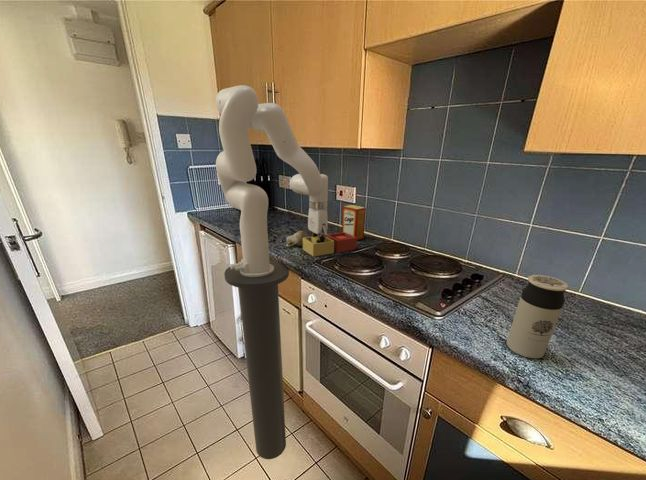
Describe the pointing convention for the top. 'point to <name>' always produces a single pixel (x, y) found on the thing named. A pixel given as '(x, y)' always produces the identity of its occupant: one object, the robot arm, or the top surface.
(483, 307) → the top surface
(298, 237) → the beige animal figurine
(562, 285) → the travel mug
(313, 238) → the yellow block
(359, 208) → the baking soda box
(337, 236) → the red block
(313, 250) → the yellow bin
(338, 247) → the red bin
